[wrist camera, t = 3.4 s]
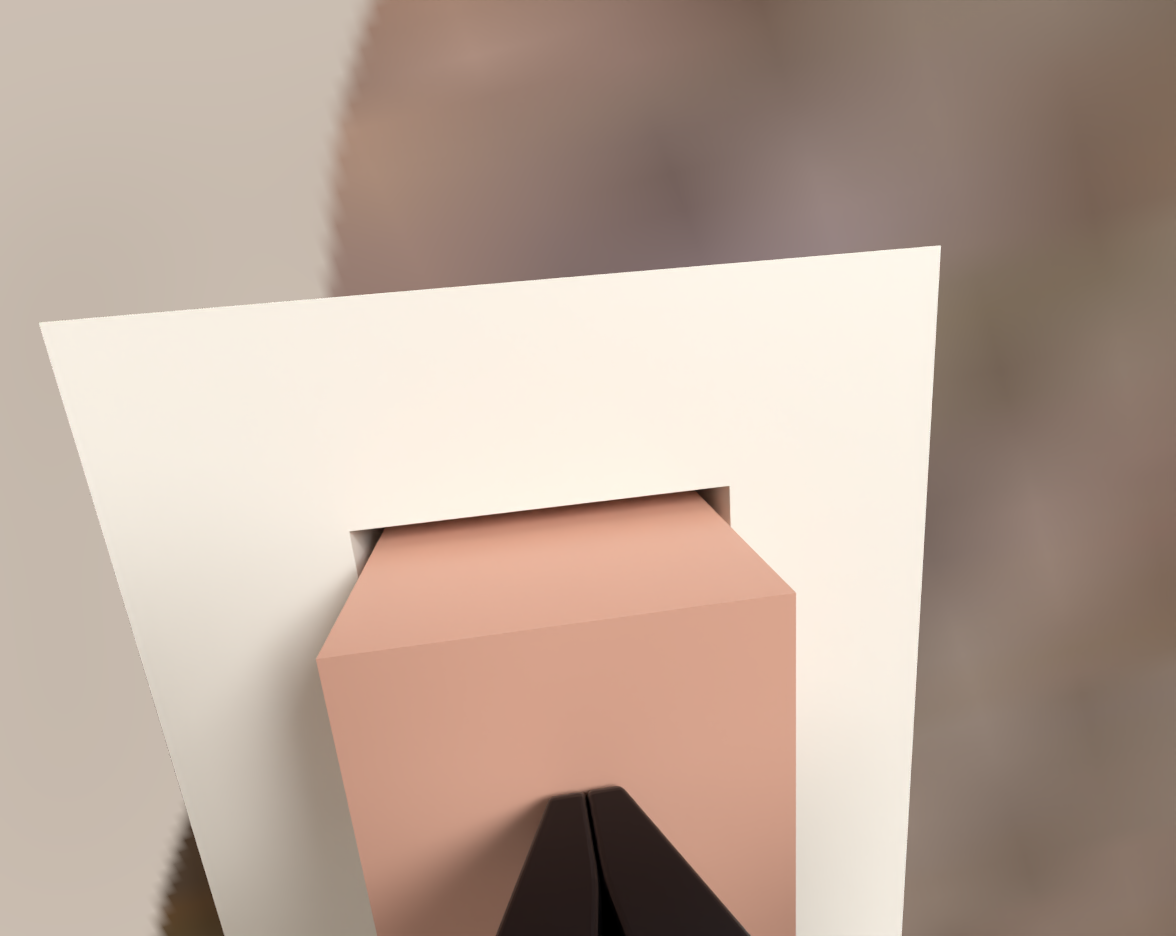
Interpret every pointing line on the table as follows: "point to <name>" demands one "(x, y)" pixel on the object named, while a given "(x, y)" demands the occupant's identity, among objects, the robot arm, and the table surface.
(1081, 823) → the table surface
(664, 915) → the robot arm
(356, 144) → the table surface
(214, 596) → the key panel
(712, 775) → the terracotta key
